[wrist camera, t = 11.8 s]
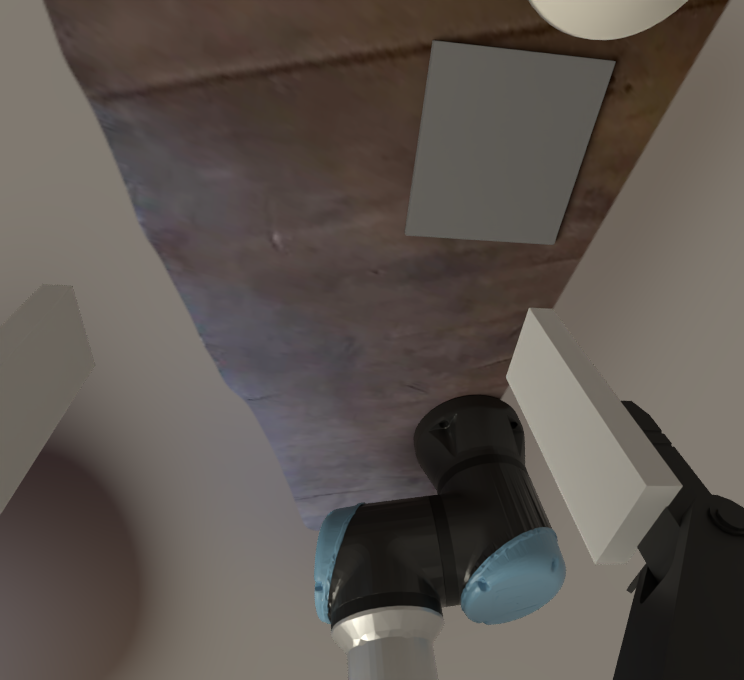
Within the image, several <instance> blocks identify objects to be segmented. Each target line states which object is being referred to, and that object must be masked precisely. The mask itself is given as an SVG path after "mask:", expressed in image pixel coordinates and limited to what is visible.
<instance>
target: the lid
mask: <svg viewBox="0 0 744 680" xmlns="http://www.w3.org/2000/svg"><path fill="white" fill-rule="evenodd" d="M528 1H529V2H530V4H531V6H532V7H533V8H534V9H535V10H536V12H537V13H538V14H539V15H540V16H541V17H542V18H543V19H544V20H545V21H546V22H548V23H549V24H550V25H551V26H553V27H555V28H556V29H558V30H560V31H561V32H564V33H566V34H569V35H572V36H576V37H580V38H585V39H592V40H611V39H619V38H623V37H627V36H630V35H634V34H637V33H639V32H641V31H644V30H646V29H648V28H650V27H652V26H654V25H656V24H657V23H659V22H661V21H663V20H664V19H665V18H667V17H668V16H670V15H671V14H672V13H674V12H675V11H677V10H678V9H679V8H680V7H681V6H682V5H683V4H685V3H686V2H687V1H688V0H528Z"/></svg>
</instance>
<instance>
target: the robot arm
mask: <svg viewBox="0 0 744 680" xmlns="http://www.w3.org/2000/svg"><path fill="white" fill-rule="evenodd" d="M94 366H95V362H94V359H93V355H92V352H91V348H90V345H89V342H88V338H87V335H86V331H85V328H84V324H83V321H82V317H81V314H80V310H79V307H78V303H77V300H76V297H75V293H74V290H73V286H65V285H64V286H63V285H45V284H43V285H41V286H40V287H39V288H38V289H37V290H36V291H35V292H34V293H33V294H32V295H31V296H30V297H29V298H28V299H27V300H26V301H25V302H24V303H23V304H22V305H21V306H20V307H19V308H18V309H17V310H16V311H15V312H14V313H13V314H12V315H11V316H10V317H9V318H8V319H7V320H6V321H5V322H4V323H3V324H2V325H1V326H0V514H1V513H2V511H3V510H4V508H5V506H6V505H7V503H8V502H9V500H10V499H11V497H12V495H13V494H14V492H15V491H16V489H17V488H18V486H19V484H20V483H21V481H22V480H23V478H24V477H25V475H26V473H27V472H28V470H29V469H30V467H31V466H32V464H33V462H34V461H35V459H36V458H37V456H38V454H39V453H40V451H41V450H42V448H43V446H44V445H45V443H46V442H47V440H48V439H49V437H50V436H51V434H52V432H53V431H54V429H55V428H56V426H57V425H58V423H59V421H60V420H61V418H62V417H63V415H64V413H65V412H66V410H67V409H68V407H69V406H70V404H71V403H72V401H73V399H74V398H75V396H76V395H77V393H78V392H79V390H80V388H81V387H82V385H83V384H84V382H85V381H86V379H87V377H88V376H89V374H90V373H91V371H92V369H93V368H94ZM506 378H507V381H508V383H509V385H510V387H511V389H512V391H513V393H514V395H515V397H516V399H517V402H518V403H519V406H520V408H521V410H522V412H523V414H524V416H525V418H526V420H527V423H528V425H529V427H530V429H531V431H532V433H533V435H534V437H535V439H536V441H537V444H538V446H539V448H540V450H541V452H542V454H543V456H544V458H545V460H546V462H547V465H548V467H549V469H550V471H551V473H552V475H553V477H554V479H555V481H556V483H557V486H558V488H559V490H560V492H561V494H562V496H563V498H564V500H565V502H566V504H567V506H568V509H569V511H570V513H571V515H572V517H573V519H574V521H575V523H576V526H577V528H578V530H579V532H580V534H581V536H582V538H583V540H584V542H585V544H586V546H587V549H588V551H589V553H590V555H591V557H592V559H593V561H594V563H595V564H626V563H627V562H628V561H629V559H630V558H631V557H632V555H633V554H634V553H635V551H636V550H637V548H638V549H639V551H640V553H641V555H642V556H643V558H644V560H645V562H646V564H645V566H644V567H643V568H642V570H641V571H640V572H639V573H638V575H637V576H636V577H635V579H634V580H633V582H632V583H631V584H630V586H629V587H628V589H627V591H628V592H630V593H632V592H633V591H634V589H635V588H636V591H635V595H634V599H633V602H632V606H631V610H630V614H629V618H628V622H627V626H626V630H625V634H624V638H623V642H622V646H621V650H620V654H619V657H618V661H617V665H616V669H615V674H614V677H613V680H744V508H743V507H741V506H740V505H738V504H736V503H735V502H733V501H731V500H729V499H726V498H724V497H721V496H718V495H712V494H711V493H710V492H709V491H708V489H707V488H706V487H705V486H704V484H703V483H702V482H701V480H700V479H699V478H698V477H697V475H696V474H695V473H694V472H693V470H692V469H691V468H690V466H689V465H688V464H687V463H686V461H685V460H684V459H683V457H682V456H681V455H680V454H679V453H678V451H677V450H676V448H675V447H672V446H671V444H672V443H671V442H670V441H669V439H668V438H667V437H666V436H665V434H662V433H661V429H660V428H659V427H658V425H657V424H656V423H655V421H654V420H653V419H652V418H651V416H650V415H649V414H647V413H646V412H645V411H644V410H642V409H641V408H640V407H639V406H637V405H636V404H635V403H633V402H632V401H620V400H619V399H618V397H617V396H616V394H615V393H614V392H613V390H612V389H611V388H610V386H609V385H608V383H607V382H606V381H605V379H604V378H603V377H602V375H601V374H600V373H599V371H598V370H597V368H596V367H595V366H594V364H593V363H592V362H591V360H590V359H589V358H588V356H587V355H586V354H585V352H584V351H583V349H582V348H581V347H580V345H579V344H578V343H577V341H576V340H575V339H574V337H573V336H572V335H571V333H570V332H569V330H568V329H567V328H566V326H565V325H564V323H563V322H562V321H561V319H560V318H559V317H558V316H557V314H556V313H555V311H554V310H553V309H543V308H529V310H528V313H527V316H526V319H525V322H524V325H523V328H522V331H521V334H520V337H519V340H518V343H517V346H516V349H515V352H514V355H513V358H512V361H511V364H510V367H509V370H508V373H507V376H506ZM414 447H415V452H416V457H417V460H418V462H419V464H420V466H421V467H422V469H423V470H424V472H425V473H426V475H427V477H428V478H429V480H430V481H431V483H432V484H433V486H434V487H435V489H436V490H437V493H438V495H432V496H423V497H415V498H407V499H399V500H392V501H384V502H376V503H368V504H366V503H359V504H357V505H356V506H351V507H345V508H339V509H336V510H333V511H332V512H330V513H329V514H328V515H327V516H326V518H325V520H324V521H323V523H322V526H321V529H320V532H319V536H318V542H317V548H316V557H315V571H314V579H315V582H316V584H315V605H316V611H317V614H318V617H319V618H320V620H321V621H322V622H326V623H327V624H331V636H332V639H333V641H335V643H336V644H337V645H338V646H339V647H340V648H341V649H342V650H343V651H344V652H345V653H346V655H347V661H348V662H347V664H348V680H438V675H437V668H436V662H435V656H434V650H433V643H434V641H435V639H436V638H437V636H438V635H439V633H440V632H441V630H442V628H443V626H444V619H443V614H442V607H447V606H455V605H461V607H462V610H463V611H464V613H465V614H466V616H467V617H468V618H469V619H470V620H472V621H474V622H476V623H482V622H483V623H485V624H487V625H491V624H501V623H506V622H510V621H513V620H516V619H519V618H522V617H524V616H526V615H529V614H530V613H532V612H534V611H536V610H538V609H539V608H541V607H542V606H544V605H545V604H546V603H548V602H549V601H550V600H551V599H552V598H553V597H554V596H555V595H556V594H557V593H558V591H559V590H560V589H561V587H562V585H563V582H564V579H565V574H566V567H565V562H564V560H563V557H562V554H561V551H560V549H559V546H558V543H557V541H558V540H557V536H556V533H555V532H554V531H553V529H552V527H551V525H550V523H549V520H548V518H547V516H546V514H545V511H544V509H543V507H542V505H541V502H540V500H539V498H538V495H537V493H536V491H535V488H534V486H533V484H532V481H531V479H530V477H529V475H528V472H527V470H526V467H525V442H524V431H523V427H522V425H521V423H520V420H519V418H518V416H517V414H516V412H515V411H514V410H513V408H512V407H511V406H509V405H508V404H507V403H505V402H503V401H501V400H499V399H496V398H493V397H488V396H465V397H460V398H456V399H453V400H450V401H447V402H445V403H443V404H441V405H439V406H437V407H436V408H434V409H433V410H431V411H430V412H429V413H428V414H427V415H426V416H425V417H424V418H423V419H422V420H421V421H420V423H419V424H418V426H417V428H416V431H415V434H414Z"/></svg>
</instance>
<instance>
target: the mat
mask: <svg viewBox="0 0 744 680" xmlns="http://www.w3.org/2000/svg"><path fill="white" fill-rule="evenodd" d="M615 62H616V61H611V60H603V59H594V58H585V57H576V56H568V55H559V54H550V53H541V52H533V51H524V50H515V49H506V48H498V47H489V46H480V45H471V44H463V43H454V42H445V41H436V40H433V42H432V48H431V55H430V62H429V69H428V76H427V83H426V90H425V96H424V103H423V110H422V117H421V124H420V131H419V138H418V144H417V151H416V158H415V165H414V172H413V179H412V186H411V193H410V199H409V206H408V213H407V220H406V227H405V235H408V236H424V237H440V238H455V239H471V240H486V241H502V242H518V243H533V244H549V245H554V243H555V240H556V237H557V234H558V231H559V228H560V225H561V222H562V219H563V216H564V213H565V210H566V207H567V204H568V201H569V198H570V195H571V192H572V189H573V187H574V184H575V181H576V178H577V175H578V172H579V169H580V166H581V163H582V160H583V157H584V154H585V151H586V148H587V145H588V142H589V139H590V136H591V133H592V130H593V127H594V124H595V121H596V118H597V115H598V113H599V110H600V107H601V104H602V101H603V98H604V95H605V92H606V89H607V86H608V83H609V80H610V77H611V74H612V71H613V68H614V65H615Z"/></svg>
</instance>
